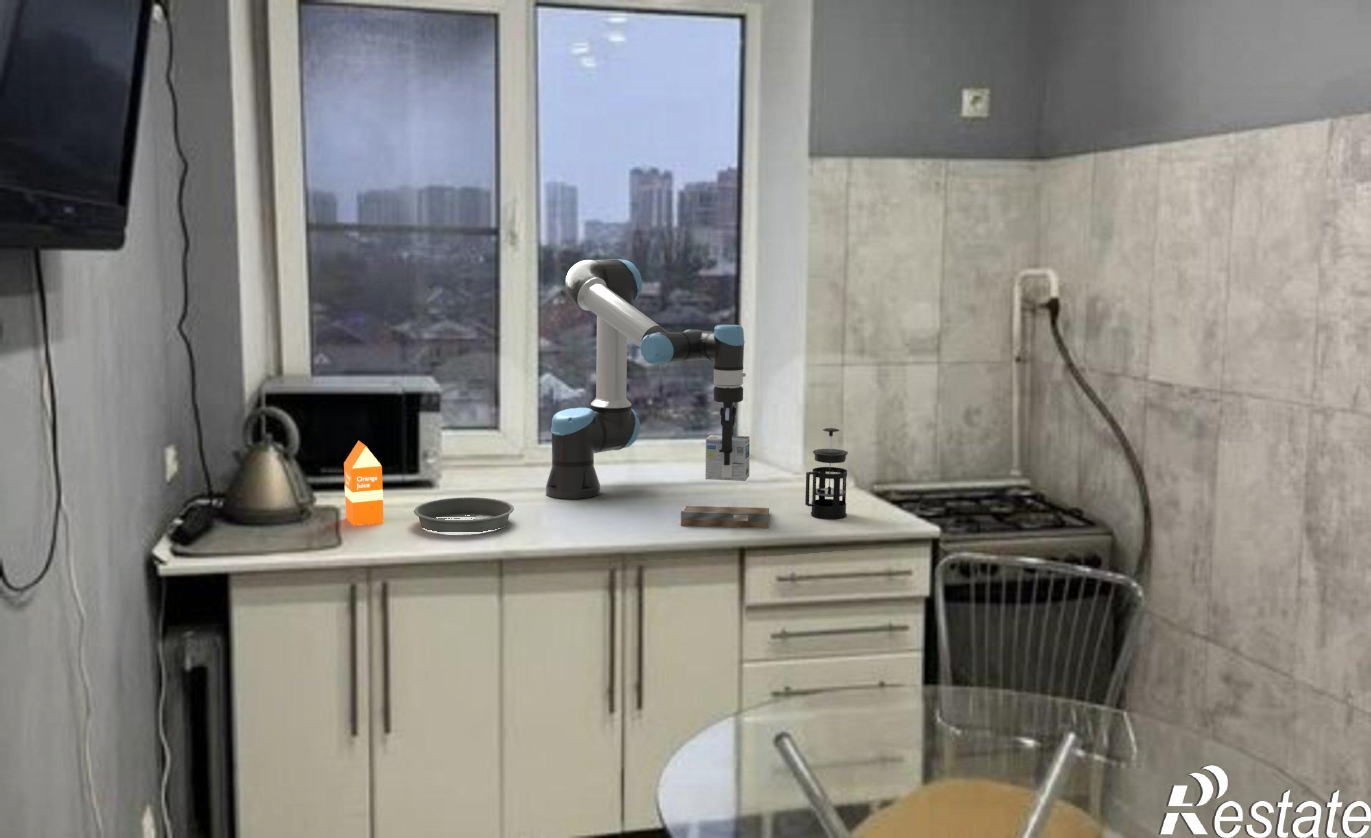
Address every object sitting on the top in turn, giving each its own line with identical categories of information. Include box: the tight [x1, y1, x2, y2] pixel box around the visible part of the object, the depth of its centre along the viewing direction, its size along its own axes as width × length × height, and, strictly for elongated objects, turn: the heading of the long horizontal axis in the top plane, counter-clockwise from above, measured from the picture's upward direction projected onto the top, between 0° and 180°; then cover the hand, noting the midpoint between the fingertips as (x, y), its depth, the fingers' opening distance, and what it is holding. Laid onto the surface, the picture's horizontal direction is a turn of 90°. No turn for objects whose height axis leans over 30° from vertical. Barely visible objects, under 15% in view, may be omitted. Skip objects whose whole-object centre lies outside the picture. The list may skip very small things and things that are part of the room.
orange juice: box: [343, 440, 385, 526], centre depth 298 cm, size 8×9×20 cm
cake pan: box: [413, 496, 515, 532], centre depth 297 cm, size 25×25×4 cm
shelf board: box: [680, 505, 770, 529], centre depth 304 cm, size 22×15×4 cm
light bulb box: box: [705, 434, 751, 482], centre depth 305 cm, size 11×7×11 cm, turn 79°
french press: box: [804, 427, 849, 521], centre depth 308 cm, size 12×9×23 cm
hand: (727, 473), depth 305 cm, fingers closed on light bulb box, 7 cm apart
